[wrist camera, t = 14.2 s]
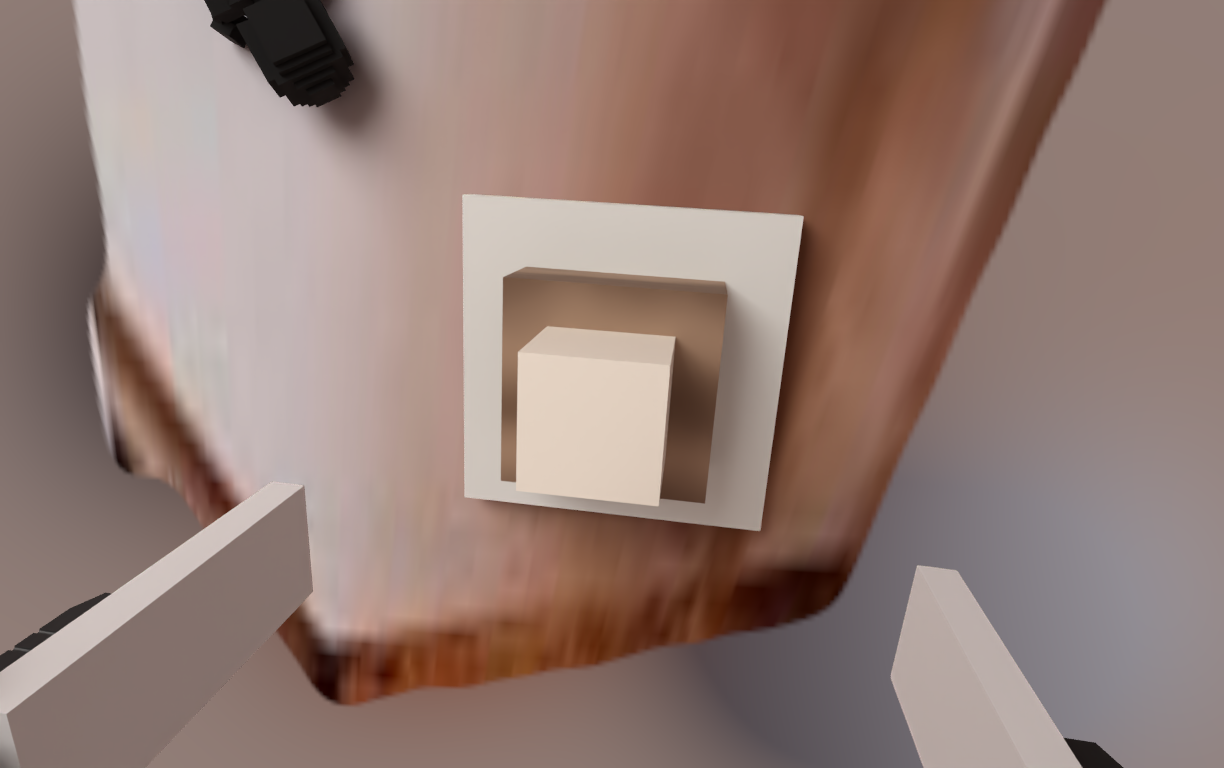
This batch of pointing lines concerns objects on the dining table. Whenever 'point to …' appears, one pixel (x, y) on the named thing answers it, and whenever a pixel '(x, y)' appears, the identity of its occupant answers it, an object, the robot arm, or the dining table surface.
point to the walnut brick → (629, 309)
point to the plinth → (651, 246)
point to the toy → (288, 45)
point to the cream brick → (594, 414)
